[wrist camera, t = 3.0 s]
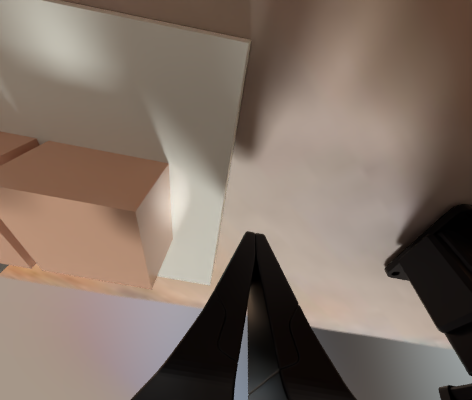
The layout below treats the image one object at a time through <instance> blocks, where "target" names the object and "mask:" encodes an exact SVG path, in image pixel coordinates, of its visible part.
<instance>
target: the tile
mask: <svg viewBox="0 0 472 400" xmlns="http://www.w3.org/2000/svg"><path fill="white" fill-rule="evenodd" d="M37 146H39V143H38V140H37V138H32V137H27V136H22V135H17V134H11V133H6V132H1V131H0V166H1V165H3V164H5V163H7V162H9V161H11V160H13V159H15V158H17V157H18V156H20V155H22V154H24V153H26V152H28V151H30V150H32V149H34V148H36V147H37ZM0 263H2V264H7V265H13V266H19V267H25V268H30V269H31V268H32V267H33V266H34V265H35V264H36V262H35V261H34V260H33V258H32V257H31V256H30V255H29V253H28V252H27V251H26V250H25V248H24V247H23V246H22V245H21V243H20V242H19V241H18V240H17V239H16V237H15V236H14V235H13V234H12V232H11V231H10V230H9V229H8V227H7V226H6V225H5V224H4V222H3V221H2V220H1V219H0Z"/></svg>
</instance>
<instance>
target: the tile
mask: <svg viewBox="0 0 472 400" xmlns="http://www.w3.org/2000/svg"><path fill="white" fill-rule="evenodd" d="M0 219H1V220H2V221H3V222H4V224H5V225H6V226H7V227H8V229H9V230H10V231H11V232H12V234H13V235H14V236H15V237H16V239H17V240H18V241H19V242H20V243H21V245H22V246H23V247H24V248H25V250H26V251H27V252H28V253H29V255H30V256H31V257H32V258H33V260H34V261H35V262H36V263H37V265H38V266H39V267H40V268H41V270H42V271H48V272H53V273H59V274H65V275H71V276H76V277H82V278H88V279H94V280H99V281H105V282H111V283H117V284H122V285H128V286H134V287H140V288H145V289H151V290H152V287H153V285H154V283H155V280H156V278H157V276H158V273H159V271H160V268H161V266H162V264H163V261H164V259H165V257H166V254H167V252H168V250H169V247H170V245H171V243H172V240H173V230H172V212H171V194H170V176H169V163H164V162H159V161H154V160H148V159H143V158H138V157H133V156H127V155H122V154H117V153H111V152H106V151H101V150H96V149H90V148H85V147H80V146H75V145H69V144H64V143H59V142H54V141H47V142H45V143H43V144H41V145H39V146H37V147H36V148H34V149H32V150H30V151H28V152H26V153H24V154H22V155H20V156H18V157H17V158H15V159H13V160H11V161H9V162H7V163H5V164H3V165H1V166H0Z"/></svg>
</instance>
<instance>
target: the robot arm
mask: <svg viewBox="0 0 472 400" xmlns="http://www.w3.org/2000/svg"><path fill="white" fill-rule="evenodd" d="M385 272H386V274H387V276H388V277H391V278H397V279H402V280H408V281H410V283H411V284H412V286H413V288H414V289H415V291H416V293H417V295H418V296H419V298H420V300H421V301H422V303H423V305H424V307H425V308H426V310H427V312H428V314H429V315H430V317H431V319H432V320H433V322H434V324H435V326H436V327H437V329H438V330H439V331H440V332H442V333H444V334H445V335H446V337H447V339H448V340H449V342H450V344H451V345H452V347H453V349H454V350H455V352H456V354H457V355H458V357H459V359H460V360H461V362H462V364H463V365H464V367H465V369H466V371H467V372H468V374H469V375H471V376H472V205H468V204H462V205H458V206H456V207H453V208H452V209H451V210H449V211H448V212H447V213H446V214H445V215H444V216H443V217H442V218H440V219H439V220H438V221H437V222H436V223H435V224H434V225H433V226H431V227H430V228H429V229H428V230H427V231H426V232H425V233H424V234H422V235H421V236H420V237H419V238H418V239H417V240H416V241H415V242H413V243H412V244H411V245H410V246H409V247H408V248H407V249H406V250H405V251H403V252H402V253H401V254H400V255H399V256H398V257H397V258H396V259H394V260H393V261H392V262H391V263H390V264H389V265H388V266H387V267H386V268H385ZM246 311H248V394H249V395H248V400H357V399H356V398H355V397H354V395H353V394H352V393H351V391H350V390H349V389H348V387H347V386H346V384H345V383H344V381H343V380H342V378H341V376H340V375H339V373H338V372H337V370H336V368H335V366H334V365H333V363H332V362H331V360H330V359H329V357H328V355H327V354H326V352H325V350H324V349H323V347H322V345H321V344H320V342H319V341H318V339H317V337H316V335H315V334H314V332H313V330H312V329H311V327H310V325H309V323H308V321H307V319H306V317H305V315H304V313H303V311H302V309H301V307H300V306H299V305H298V301H297V299H296V297H295V295H294V293H293V291H292V289H291V287H290V285H289V283H288V281H287V279H286V277H285V275H284V273H283V271H282V269H281V267H280V265H279V263H278V261H277V259H276V257H275V255H274V253H273V251H272V249H271V247H270V245H269V243H268V241H267V239H266V237H265V235H264V234H259V233H254V232H248V231H247V232H246V233H245V235H244V236H243V238H242V240H241V242H240V244H239V246H238V247H237V249H236V251H235V253H234V255H233V257H232V258H231V260H230V262H229V264H228V266H227V267H226V269H225V271H224V273H223V275H222V277H221V278H220V280H219V282H218V284H217V286H216V288H215V290H214V291H213V293H212V295H211V297H210V298H209V300H208V302H207V303H206V305H205V307H204V309H203V310H202V312H201V313H200V315H199V316H198V318H197V319H196V321H195V322H194V323H193V325H192V326H191V328H190V329H189V330H188V332H187V333H186V334H185V336H184V337H183V339H182V340H181V341H180V343H179V344H178V345H177V347H176V348H175V349H174V351H173V352H172V354H171V355H170V356H169V358H168V359H167V360H166V361H165V363H164V364H163V365H162V366H161V368H160V369H159V370H158V371H157V372H156V373H155V374H154V376H153V377H152V378H151V379H150V380H149V381H148V382H147V383H146V384H145V385H144V386H143V387H142V388H141V389H140V390H139V391H138V392H137V393H136V395H135V396H134V397H133V398H132V399H131V400H234V388H235V379H236V371H237V365H238V364H237V363H238V360H239V354H240V348H241V341H242V336H243V330H244V323H245V317H246ZM439 393H440V398H441V400H472V384H467V385H461V386H450V385H448V386H443V387H439Z"/></svg>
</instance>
